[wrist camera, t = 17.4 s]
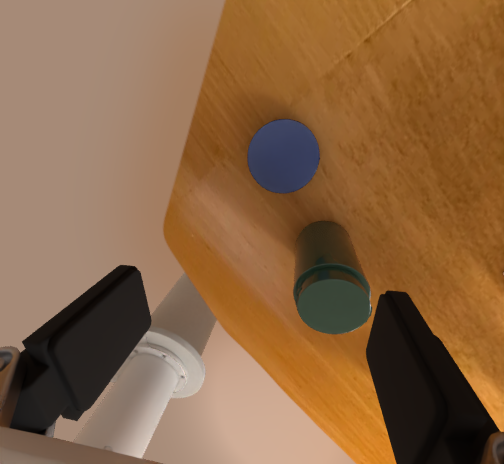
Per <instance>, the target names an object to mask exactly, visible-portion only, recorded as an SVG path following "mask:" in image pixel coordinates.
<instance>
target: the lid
mask: <svg viewBox="0 0 504 464" xmlns="http://www.w3.org/2000/svg"><path fill="white" fill-rule="evenodd" d="M319 155H320V154H319V147H318V143H317V140H316V138H315V137H314V135H313V133H312V132H311V131H310V130H309V129H308V128H307V127H306V126H305V125H303V124H302V123H300V122H298V121H295V120H290V119H279V120H275V121H272V122H269V123H268V124H266V125H264V126H263V127H262V128H260V129H259V130H258V131H257V133H256V134H255V135H254V137H253V138H252V140H251V143H250V145H249V149H248V166H249V169H250V172H251V174H252V176H253V177H254V179H255V180H256V181H257V183H258V184H260V185H261V186H262V187H263V188H265V189H267V190H269V191H271V192H275V193H290V192H294V191H296V190H299V189H300V188H302V187H303V186H305V185H306V184H307V183H308V182H309V181H310V180H311V179H312V177H313V176H314V174H315V172H316V170H317V167H318V164H319V159H320V157H319Z"/></svg>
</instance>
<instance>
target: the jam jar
mask: <svg viewBox="0 0 504 464" xmlns="http://www.w3.org/2000/svg"><path fill="white" fill-rule="evenodd" d="M293 295H294V300H295V302H296V306H297V310H298V313H299V315H300V317H301V319H302V320H303V321H304V322H305V323H306V324H307V325H308V326H309V327H311V328H312V329H314V330H316V331H319V332H322V333H326V334H344V333H348V332H351V331H354V330H356V329H358V328H359V327H360V326H362V325H363V324H364V323H365V322H367V320H368V318H369V317H370V316H371V312H372V307H371V303H370V296H371V290H370V286H369V283H368V281H367V278H366V276H365V273H364V271H363V269H362V266H361V264H360V261H359V259H358V256H357V254H356V251H355V249H354V246H353V244H352V241H351V239H350V236H349V234H348V233H347V231H346V230H345V229H344V228H343V227H341V226H340V225H338V224H336V223H333V222H329V221H319V222H315V223H312V224H310V225H308V226H306V227H305V228H304V229H303V230H302V231H301V232H300V234H299V235H298V237H297V240H296V251H295V269H294V288H293Z"/></svg>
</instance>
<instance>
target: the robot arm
mask: <svg viewBox="0 0 504 464" xmlns="http://www.w3.org/2000/svg"><path fill="white" fill-rule="evenodd" d="M150 325H151V316H150V312H149V307H148V303H147V299H146V294H145V290H144V286H143V281H142V277H141V273H140V271H139V270H137V268H136V267H135V266H127V265H120V266H118V267H117V268H116V269H114V270H113V271H112V272H110V273H109V274H108V275H106V276H105V277H104V278H103V279H101V280H100V281H99V282H97V283H96V284H95V285H94V286H92V287H91V288H90V289H89V290H87V291H86V292H85V293H83V294H82V295H81V296H80V297H78V298H77V299H76V300H75V301H73V302H72V303H71V304H70V305H68V306H67V307H66V308H64V309H63V310H62V311H61V312H59V313H58V314H57V315H55V316H54V317H53V318H52V319H50V320H49V321H48V322H46V323H45V324H44V325H43V326H41V327H40V328H39V329H38V330H36V331H35V332H34V333H32V334H31V335H30V336H29V337H27V338H26V339H25V340H23V341H22V343H23V344H24V346H25V348H26V349H25V350H23V351H22V352H21V353H20V352H19V350H18V349H17V348H15V347H11V346H10V347H1V348H0V464H162V463H158V462H154V461H150V460H146V459H141V458H142V456H143V454H144V452H145V450H146V448H147V446H148V444H149V442H150V439H151V437H152V435H153V433H154V431H155V429H156V427H157V425H158V423H159V420H160V418H161V416H162V414H163V412H164V410H165V408H166V406H167V404H168V401H169V399H170V397H171V395H172V393H176V392H179V391H181V390H182V389H183V388H184V387H185V385H186V383H187V381H188V371H187V368H186V366H185V364H184V363H183V362H182V360H181V359H180V358H179V357H178V356H177V355H175V354H174V353H173V352H171V351H170V350H168V349H166V348H164V347H162V346H159V345H155V344H151V343H139V341H140V340H141V339H142V337H143V336H144V335H145V333H146V332H147V331H148V329H149V328H150ZM138 343H139V344H138ZM366 357H367V361H368V365H369V368H370V372H371V375H372V379H373V382H374V386H375V389H376V393H377V396H378V400H379V403H380V407H381V410H382V414H383V417H384V421H385V424H386V428H387V431H388V435H389V438H390V442H391V445H392V449H393V452H394V456H395V460H396V463H397V464H504V432H500V430H499V429H498V427H497V426H496V424H495V423H494V421H493V420H492V418H491V417H490V415H489V413H488V412H487V410H486V409H485V407H484V406H483V404H482V403H481V401H480V400H479V398H478V397H477V395H476V394H475V392H474V390H473V389H472V387H471V386H470V384H469V383H468V381H467V380H466V378H465V377H464V375H463V374H462V372H461V370H460V369H459V367H458V366H457V364H456V363H455V361H454V360H453V358H452V357H451V355H450V354H449V352H448V351H447V349H446V347H445V346H444V344H443V343H442V341H441V340H440V339H439V338H438V337H437V336H435V335H434V334H433V333H432V331H431V330H430V328H429V327H428V325H427V323H426V322H425V320H424V319H423V317H422V316H421V314H420V312H419V311H418V309H417V308H416V306H415V305H414V303H413V301H412V300H411V298H410V297H409V295H408V294H407V293H406V292H399V291H386V293H385V294H381V295H380V297H379V301H378V305H377V309H376V313H375V316H374V320H373V324H372V328H371V332H370V336H369V340H368V344H367V348H366ZM109 382H114V383H115V384H114V385H113V386H112V388H111V389H110V390H109V392H108V393H107V395H106V396H105V397H104V399H103V400H102V402H101V403H100V405H99V406H98V407H97V409H96V410H95V412H94V413H93V414H92V416H91V417H90V419H89V420H88V421H87V423H86V424H85V426H84V427H83V428H82V430H81V431H80V433H79V434H78V435H77V437H76V438H75V440H74V441H73V442H69V441H65V440H60V439H57V438H53V435H54V429H55V423H56V420H57V418H58V417H59V416H60V415H62V417H63V418H66V419H71V420H75V421H78V419H79V418H80V417H81V415H82V414H83V413H84V411H86V410H88V409H89V408H91V406H92V405H93V404H94V402H95V401H96V400H97V398H98V397H99V396H100V394H101V393H102V392H103V390H104V389H105V388H106V386H107V385H108V384H109Z"/></svg>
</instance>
